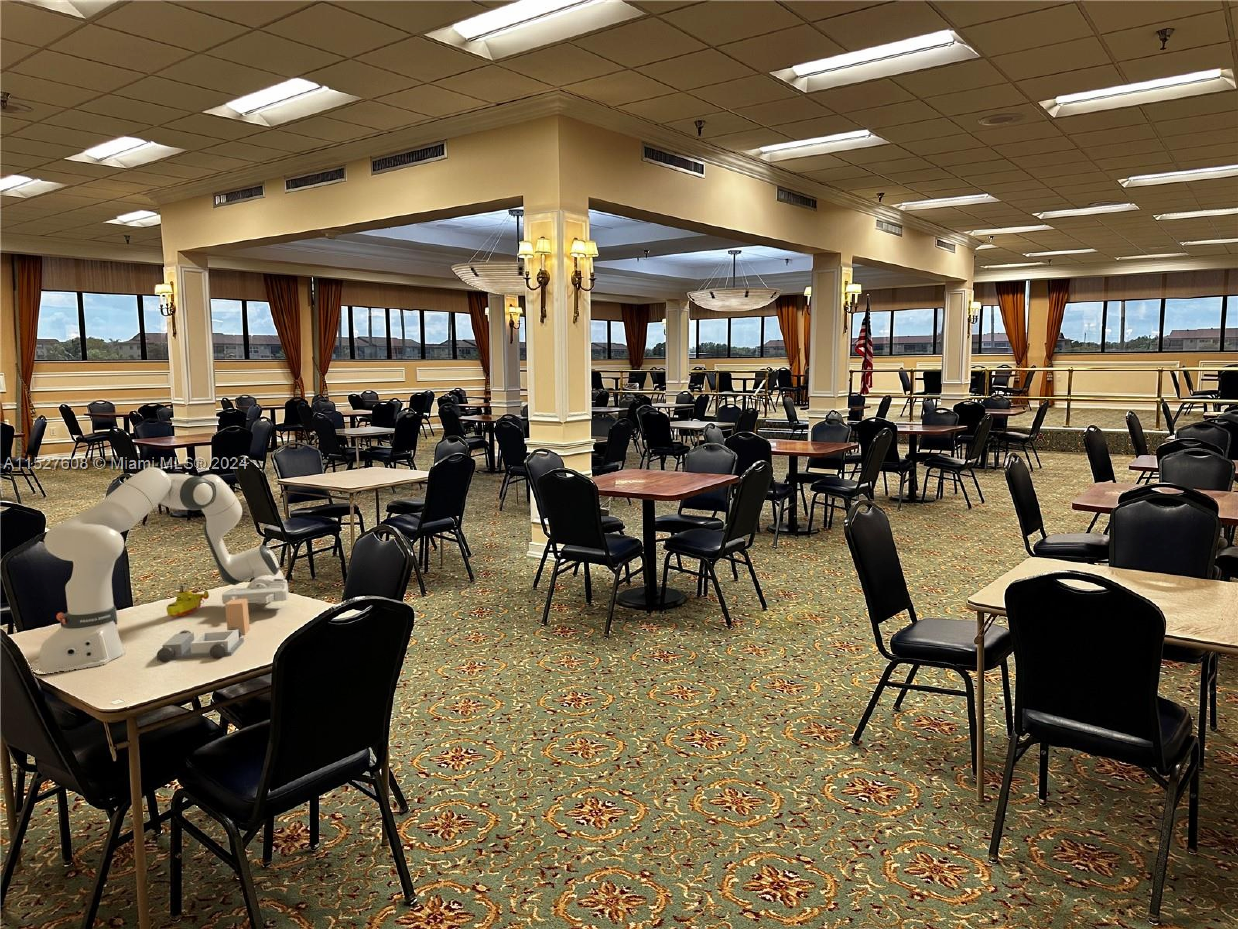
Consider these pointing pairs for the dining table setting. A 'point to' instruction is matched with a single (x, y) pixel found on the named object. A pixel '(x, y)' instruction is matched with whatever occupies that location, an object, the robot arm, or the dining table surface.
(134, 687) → the dining table surface
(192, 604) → the toy boat
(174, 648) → the chassis
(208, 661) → the dining table surface
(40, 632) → the dining table surface
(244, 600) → the block
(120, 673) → the dining table surface
